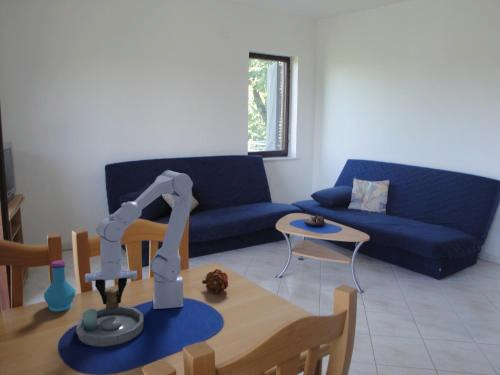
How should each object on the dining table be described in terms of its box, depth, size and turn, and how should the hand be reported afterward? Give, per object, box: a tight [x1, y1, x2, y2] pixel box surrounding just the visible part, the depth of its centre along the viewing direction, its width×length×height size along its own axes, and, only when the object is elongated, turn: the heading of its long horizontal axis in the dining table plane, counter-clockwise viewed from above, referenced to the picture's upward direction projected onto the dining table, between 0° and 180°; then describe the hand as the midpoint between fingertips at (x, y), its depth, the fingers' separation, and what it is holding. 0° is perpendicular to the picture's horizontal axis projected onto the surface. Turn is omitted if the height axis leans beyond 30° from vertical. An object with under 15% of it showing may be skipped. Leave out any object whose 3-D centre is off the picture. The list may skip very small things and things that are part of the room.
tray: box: [75, 305, 144, 348], centre depth 117 cm, size 18×18×3 cm
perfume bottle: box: [43, 259, 76, 312], centre depth 129 cm, size 9×9×15 cm
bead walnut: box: [105, 288, 120, 310], centre depth 122 cm, size 4×4×5 cm
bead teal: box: [82, 308, 97, 331], centre depth 116 cm, size 4×4×5 cm
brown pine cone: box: [201, 268, 229, 294], centre depth 146 cm, size 8×8×12 cm
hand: (112, 302), depth 122 cm, fingers closed on bead walnut, 4 cm apart
